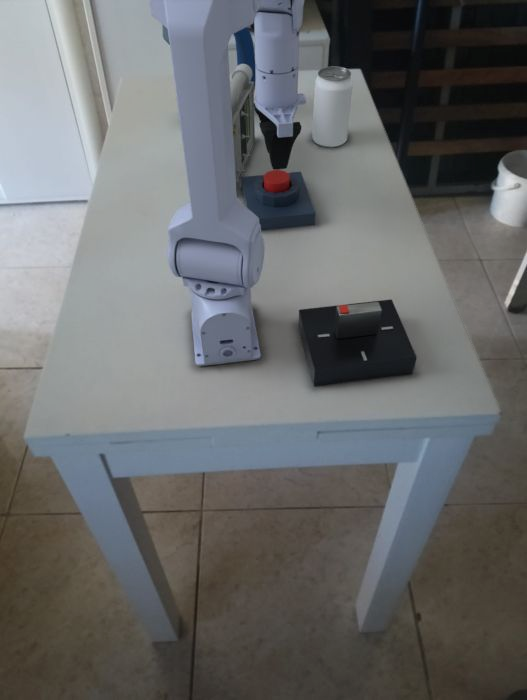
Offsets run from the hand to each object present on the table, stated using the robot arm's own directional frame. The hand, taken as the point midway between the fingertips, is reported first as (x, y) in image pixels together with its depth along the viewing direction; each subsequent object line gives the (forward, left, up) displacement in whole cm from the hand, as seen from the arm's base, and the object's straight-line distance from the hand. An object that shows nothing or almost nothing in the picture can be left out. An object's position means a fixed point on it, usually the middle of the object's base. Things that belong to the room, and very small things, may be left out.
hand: (276, 159), depth 85 cm
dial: (-32, -4, -5) cm, 33 cm away
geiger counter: (+15, +5, -8) cm, 18 cm away
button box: (0, 0, -8) cm, 8 cm away
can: (+19, -13, -8) cm, 25 cm away
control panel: (-32, -4, -8) cm, 33 cm away
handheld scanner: (+31, +7, -8) cm, 33 cm away
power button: (0, 0, -5) cm, 5 cm away
